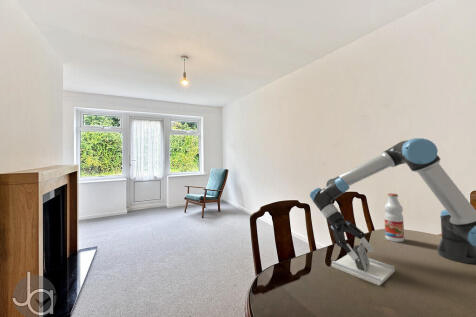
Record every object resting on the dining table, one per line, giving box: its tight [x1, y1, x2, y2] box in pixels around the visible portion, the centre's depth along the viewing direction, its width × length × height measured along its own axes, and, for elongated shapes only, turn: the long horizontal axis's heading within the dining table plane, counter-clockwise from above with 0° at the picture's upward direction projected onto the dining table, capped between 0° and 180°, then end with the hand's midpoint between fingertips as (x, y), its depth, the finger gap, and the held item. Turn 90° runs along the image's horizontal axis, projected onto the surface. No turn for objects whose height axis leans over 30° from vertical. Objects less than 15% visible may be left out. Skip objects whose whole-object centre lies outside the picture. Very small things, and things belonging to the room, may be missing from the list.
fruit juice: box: [384, 192, 405, 243], centre depth 131 cm, size 9×9×28 cm
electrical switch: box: [352, 242, 370, 271], centre depth 97 cm, size 9×5×9 cm, turn 141°
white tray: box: [330, 252, 396, 286], centre depth 97 cm, size 20×17×2 cm
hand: (364, 255), depth 96 cm, fingers open, 13 cm apart
